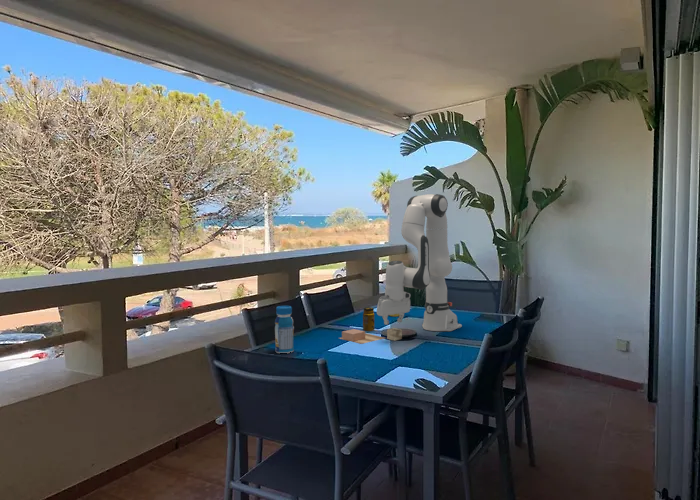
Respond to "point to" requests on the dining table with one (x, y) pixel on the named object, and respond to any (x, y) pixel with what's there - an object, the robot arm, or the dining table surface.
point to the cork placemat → (367, 339)
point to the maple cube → (394, 334)
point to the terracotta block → (353, 335)
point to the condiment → (368, 319)
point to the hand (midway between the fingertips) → (393, 323)
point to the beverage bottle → (284, 330)
